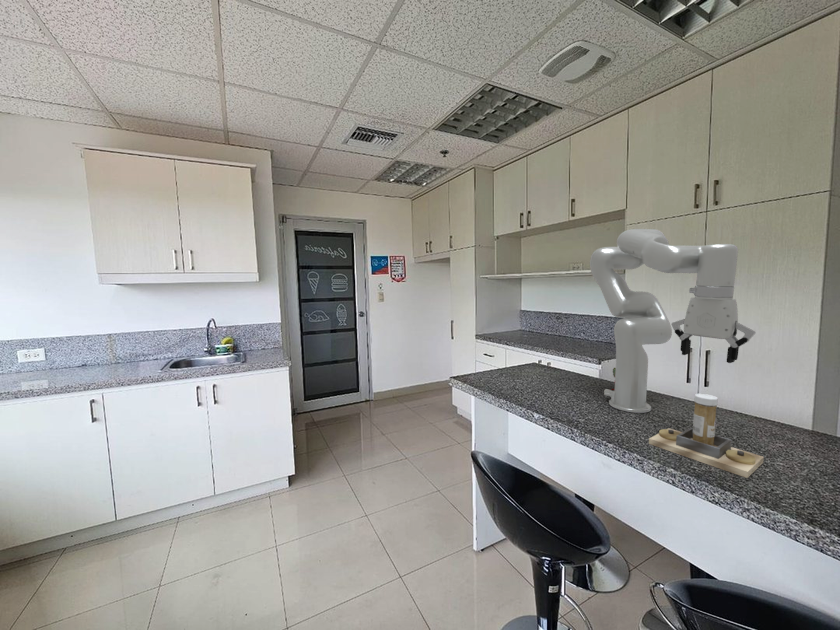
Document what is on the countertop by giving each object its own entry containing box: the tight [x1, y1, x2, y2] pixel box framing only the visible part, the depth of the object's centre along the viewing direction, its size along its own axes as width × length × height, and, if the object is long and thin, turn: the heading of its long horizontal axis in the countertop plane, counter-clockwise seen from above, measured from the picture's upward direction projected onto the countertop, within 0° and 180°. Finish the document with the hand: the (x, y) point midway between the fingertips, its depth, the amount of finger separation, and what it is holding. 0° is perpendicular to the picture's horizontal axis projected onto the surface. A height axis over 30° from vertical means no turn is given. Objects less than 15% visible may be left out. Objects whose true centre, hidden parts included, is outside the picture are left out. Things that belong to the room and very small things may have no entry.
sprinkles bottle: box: [692, 393, 719, 446], centre depth 88 cm, size 5×5×13 cm
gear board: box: [648, 427, 765, 479], centre depth 89 cm, size 20×12×4 cm, turn 33°
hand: (707, 358), depth 91 cm, fingers open, 9 cm apart
